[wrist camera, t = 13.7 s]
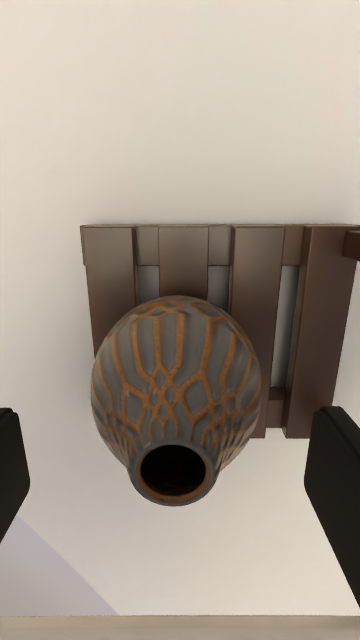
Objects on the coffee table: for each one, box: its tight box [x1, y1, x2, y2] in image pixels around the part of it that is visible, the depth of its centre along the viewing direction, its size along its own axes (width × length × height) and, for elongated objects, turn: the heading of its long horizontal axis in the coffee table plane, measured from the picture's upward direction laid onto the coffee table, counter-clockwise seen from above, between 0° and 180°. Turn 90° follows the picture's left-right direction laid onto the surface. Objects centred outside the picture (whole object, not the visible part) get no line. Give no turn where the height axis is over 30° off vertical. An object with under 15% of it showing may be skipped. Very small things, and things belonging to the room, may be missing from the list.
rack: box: [80, 224, 360, 439], centre depth 12 cm, size 14×12×15 cm
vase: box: [91, 295, 262, 506], centre depth 13 cm, size 7×7×9 cm
